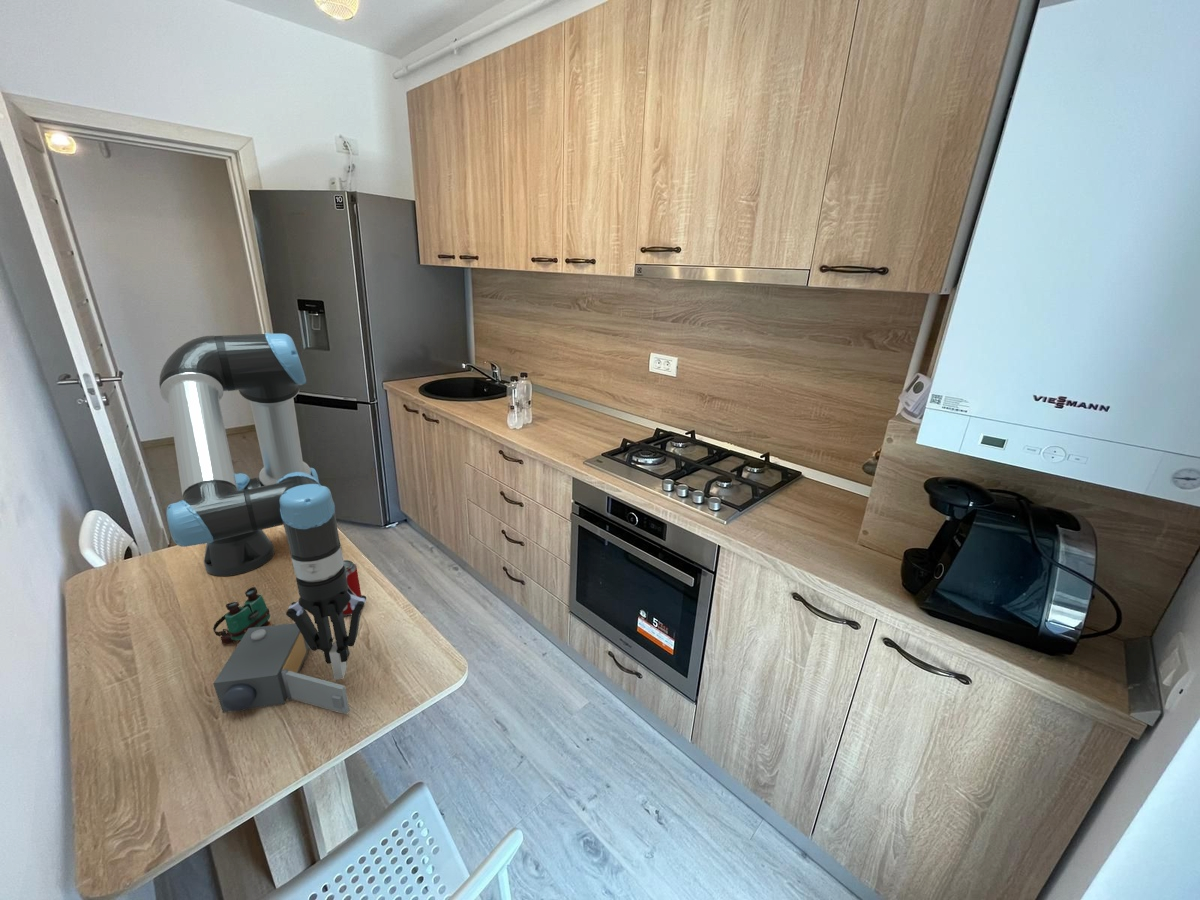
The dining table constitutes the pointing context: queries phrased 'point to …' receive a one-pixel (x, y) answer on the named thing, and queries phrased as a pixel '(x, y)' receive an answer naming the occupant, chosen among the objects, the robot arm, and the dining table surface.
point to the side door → (315, 691)
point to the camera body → (260, 667)
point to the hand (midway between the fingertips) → (340, 673)
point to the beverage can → (351, 583)
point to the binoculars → (243, 617)
